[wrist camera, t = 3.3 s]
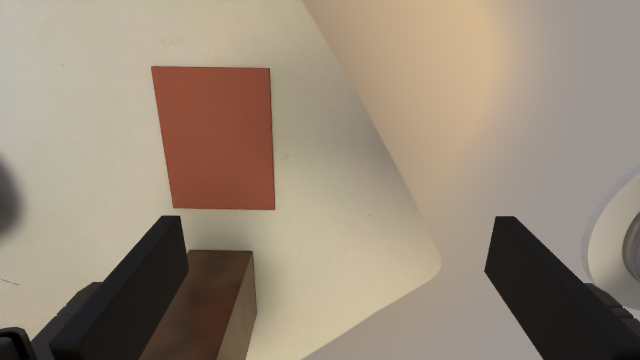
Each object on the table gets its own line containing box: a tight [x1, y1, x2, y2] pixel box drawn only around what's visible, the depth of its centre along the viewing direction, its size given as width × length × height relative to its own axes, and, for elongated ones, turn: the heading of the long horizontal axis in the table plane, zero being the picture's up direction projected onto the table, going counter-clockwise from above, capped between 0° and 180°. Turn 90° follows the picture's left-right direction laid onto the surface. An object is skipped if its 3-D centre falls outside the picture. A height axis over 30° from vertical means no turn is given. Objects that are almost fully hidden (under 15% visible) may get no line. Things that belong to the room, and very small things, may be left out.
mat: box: [151, 67, 275, 210], centre depth 39 cm, size 12×16×1 cm
